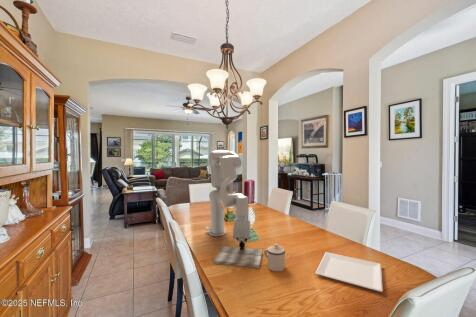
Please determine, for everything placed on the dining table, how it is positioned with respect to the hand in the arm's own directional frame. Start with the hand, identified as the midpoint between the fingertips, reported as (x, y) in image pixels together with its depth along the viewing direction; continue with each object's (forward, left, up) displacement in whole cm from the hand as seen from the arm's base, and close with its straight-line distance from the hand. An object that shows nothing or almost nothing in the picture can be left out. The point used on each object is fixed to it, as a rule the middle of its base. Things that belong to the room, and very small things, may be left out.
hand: (242, 248), depth 126 cm
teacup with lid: (+19, -13, -2) cm, 23 cm away
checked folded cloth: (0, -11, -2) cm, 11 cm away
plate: (+55, -11, -3) cm, 56 cm away
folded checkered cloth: (0, -2, -2) cm, 3 cm away
